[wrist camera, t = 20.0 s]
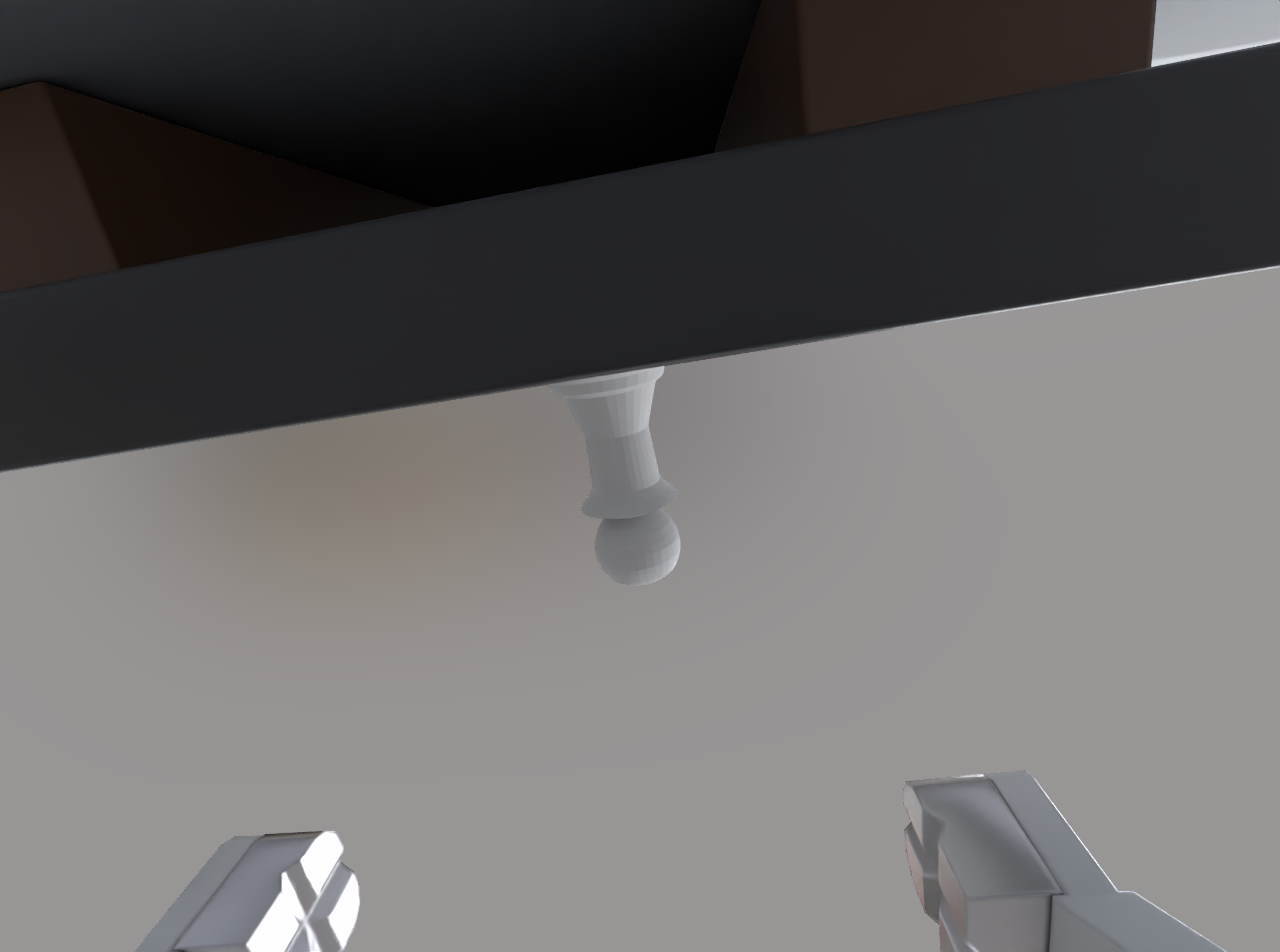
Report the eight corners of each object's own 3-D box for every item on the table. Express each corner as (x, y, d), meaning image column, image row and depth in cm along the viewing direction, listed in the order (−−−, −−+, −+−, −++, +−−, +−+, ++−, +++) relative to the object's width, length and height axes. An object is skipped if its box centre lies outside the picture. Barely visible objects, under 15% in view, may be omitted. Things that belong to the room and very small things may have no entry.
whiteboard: (1803, -528, 3) (1583, 219, 4) (813, 183, 23) (819, 273, 24) (-704, 134, 4) (-397, 537, 6) (421, 256, 25) (442, 338, 26)
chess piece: (623, 299, 18) (662, 533, 21) (478, 326, 16) (541, 584, 18) (722, 284, 14) (756, 574, 17) (549, 316, 12) (617, 646, 15)
